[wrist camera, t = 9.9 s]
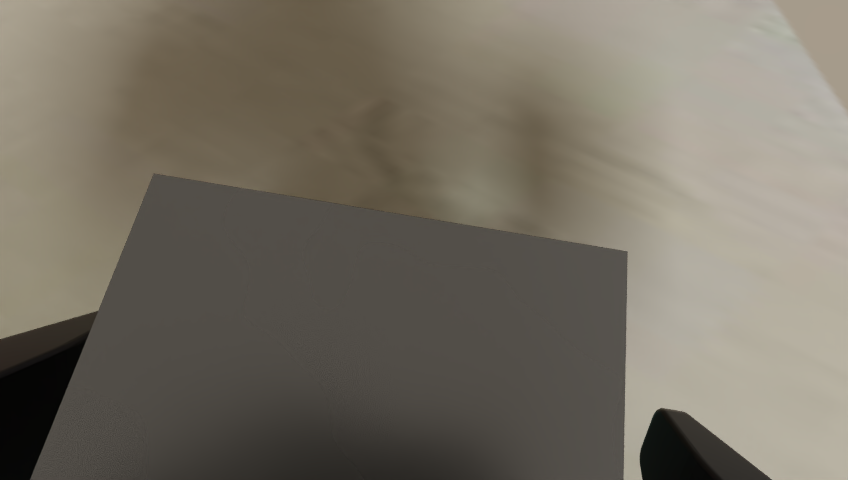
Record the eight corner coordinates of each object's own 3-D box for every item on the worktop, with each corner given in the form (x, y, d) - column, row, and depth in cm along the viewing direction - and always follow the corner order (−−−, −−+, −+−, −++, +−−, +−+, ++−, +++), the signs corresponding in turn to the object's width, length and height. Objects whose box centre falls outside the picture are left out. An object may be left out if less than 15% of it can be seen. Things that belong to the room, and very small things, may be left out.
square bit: (444, 576, 14) (615, 924, 3) (287, 548, 14) (-97, 788, 3) (465, 412, 16) (627, 250, 5) (324, 387, 16) (153, 173, 5)
